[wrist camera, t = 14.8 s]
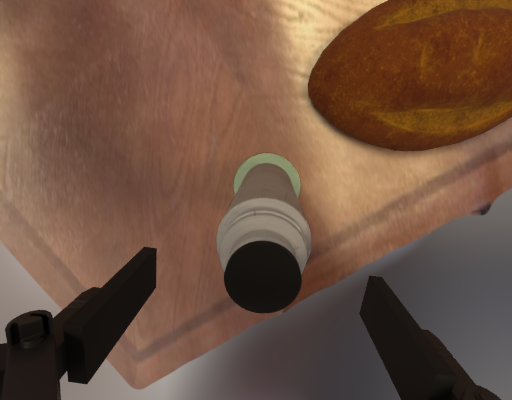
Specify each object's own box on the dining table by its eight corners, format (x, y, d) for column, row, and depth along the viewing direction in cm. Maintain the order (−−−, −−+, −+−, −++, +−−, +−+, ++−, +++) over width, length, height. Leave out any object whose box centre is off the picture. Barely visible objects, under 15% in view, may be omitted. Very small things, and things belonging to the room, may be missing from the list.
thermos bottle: (247, 213, 45) (212, 342, 18) (238, 167, 43) (184, 232, 16) (294, 206, 44) (332, 329, 17) (287, 159, 42) (319, 212, 15)
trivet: (237, 148, 43) (237, 149, 42) (304, 157, 42) (305, 157, 42) (231, 212, 46) (230, 214, 45) (294, 220, 45) (294, 222, 45)
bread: (306, 2, 37) (323, -58, 25) (554, -16, 35) (702, -92, 23) (305, 154, 42) (319, 163, 30) (520, 145, 40) (626, 152, 28)
